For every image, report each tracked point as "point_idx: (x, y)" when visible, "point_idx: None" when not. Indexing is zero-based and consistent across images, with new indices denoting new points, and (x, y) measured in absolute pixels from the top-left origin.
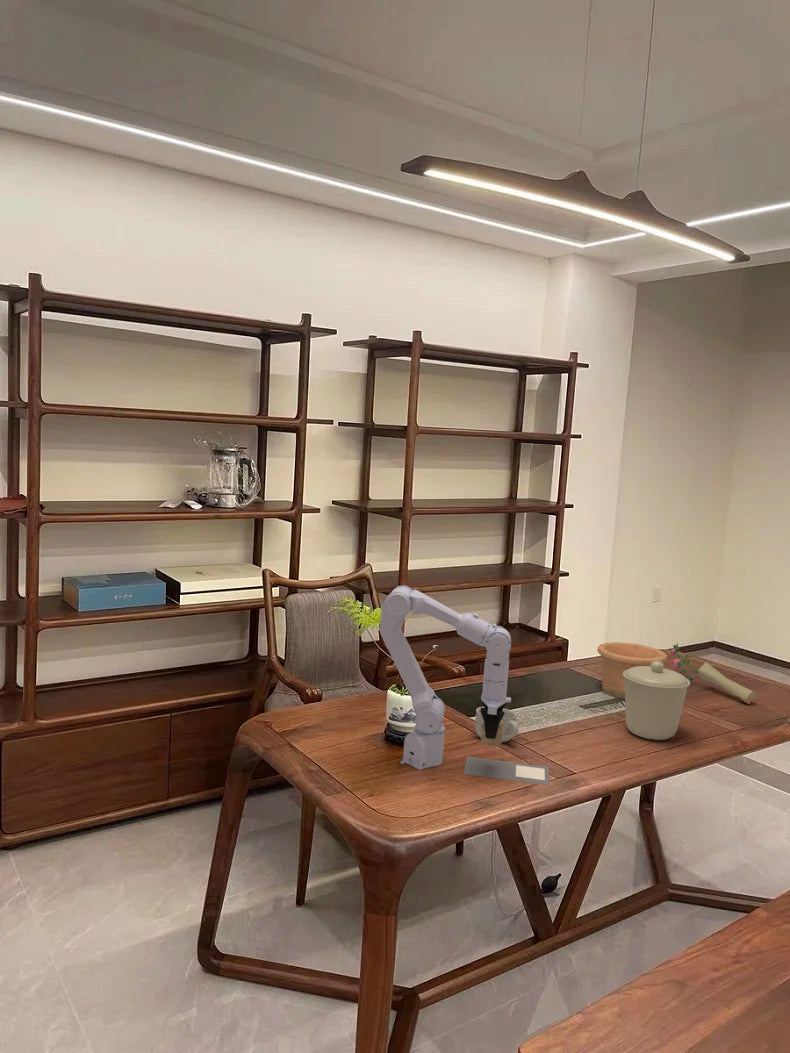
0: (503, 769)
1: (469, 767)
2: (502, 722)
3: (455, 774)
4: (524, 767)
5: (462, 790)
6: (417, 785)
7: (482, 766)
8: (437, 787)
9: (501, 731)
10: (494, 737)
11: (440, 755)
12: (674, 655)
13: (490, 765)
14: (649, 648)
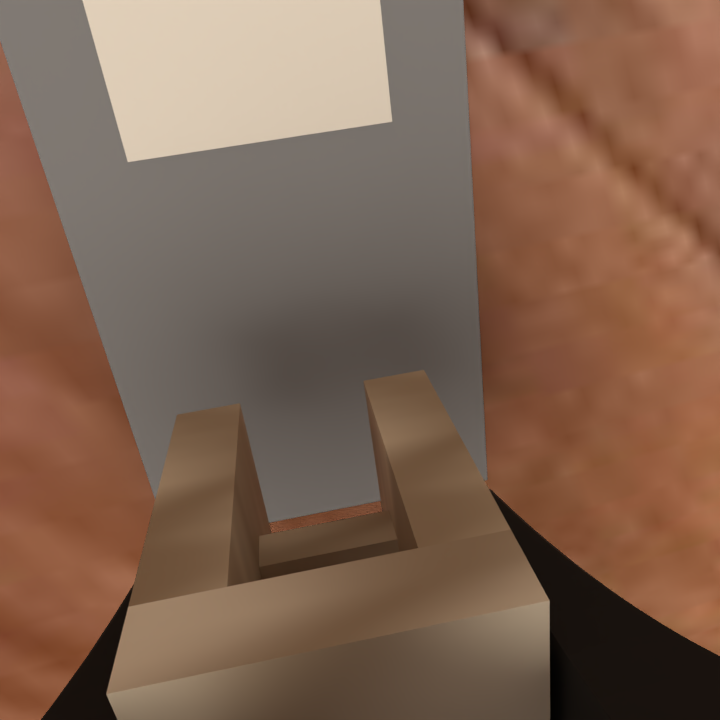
0: (275, 252)
1: (362, 477)
2: (544, 603)
3: None
4: (137, 70)
5: (657, 417)
6: (652, 614)
7: (299, 409)
8: (651, 536)
9: (486, 489)
10: (497, 502)
11: None
12: None
13: (248, 363)
14: None
